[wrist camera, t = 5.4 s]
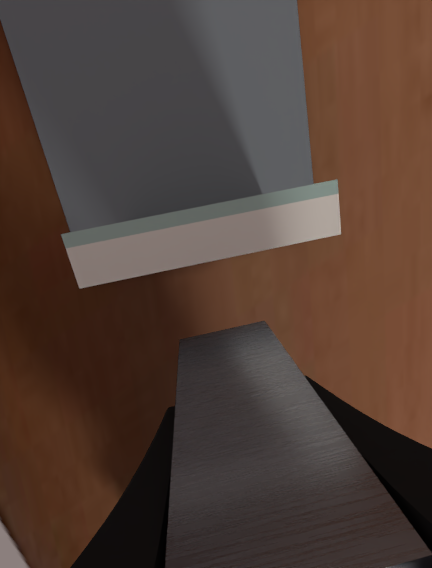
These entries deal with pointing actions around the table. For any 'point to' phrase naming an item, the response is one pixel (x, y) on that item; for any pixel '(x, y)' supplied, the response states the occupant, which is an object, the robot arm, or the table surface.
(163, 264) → the tile
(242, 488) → the block
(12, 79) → the table surface
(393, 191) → the table surface
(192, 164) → the mat
